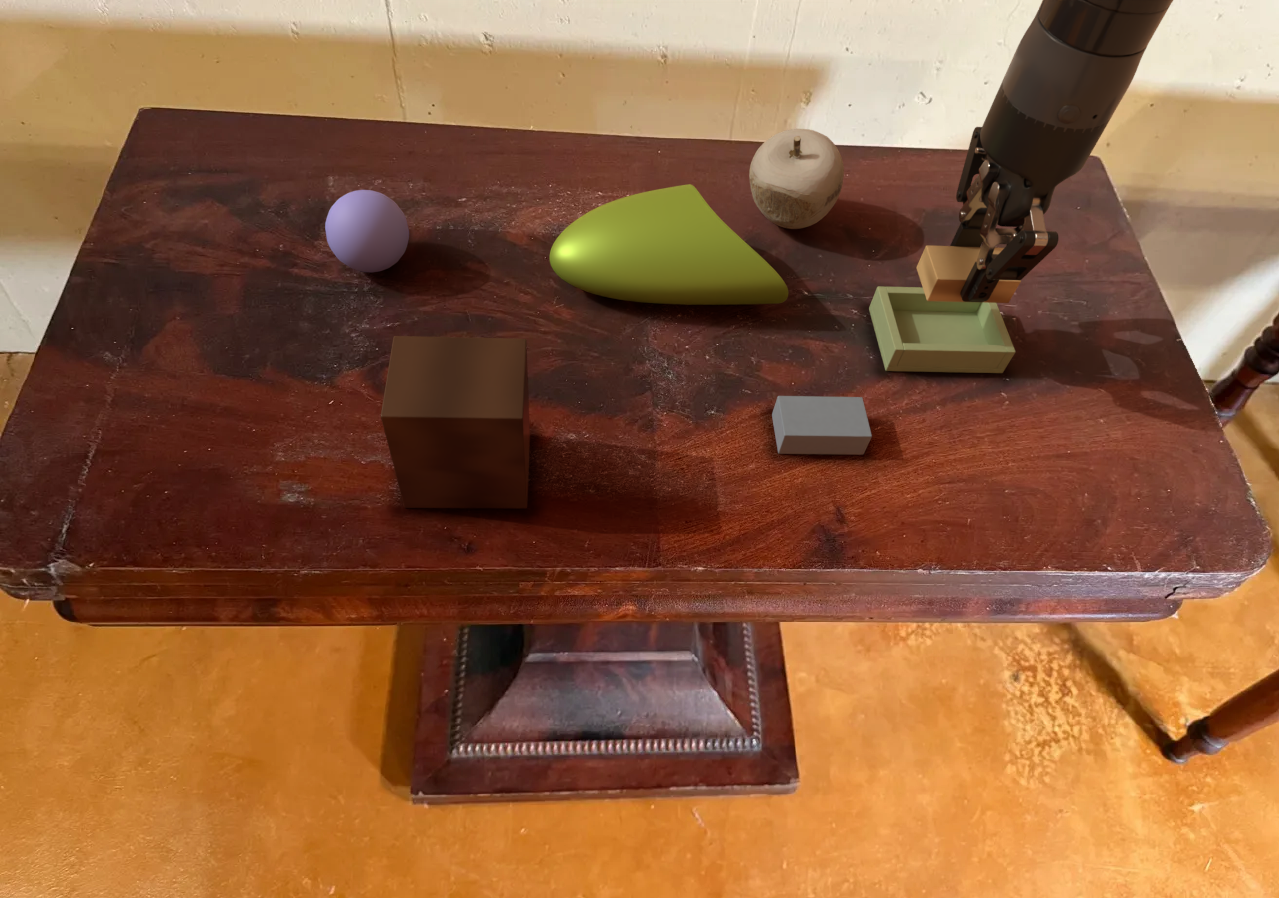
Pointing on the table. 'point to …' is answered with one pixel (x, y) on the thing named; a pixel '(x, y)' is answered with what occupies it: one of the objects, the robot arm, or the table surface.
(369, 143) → the table surface
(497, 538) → the table surface
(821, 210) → the decorative object
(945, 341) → the olive green tray
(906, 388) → the table surface
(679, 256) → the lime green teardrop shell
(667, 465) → the table surface
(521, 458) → the stand
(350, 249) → the sphere
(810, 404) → the rubber pad
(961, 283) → the birch pad
